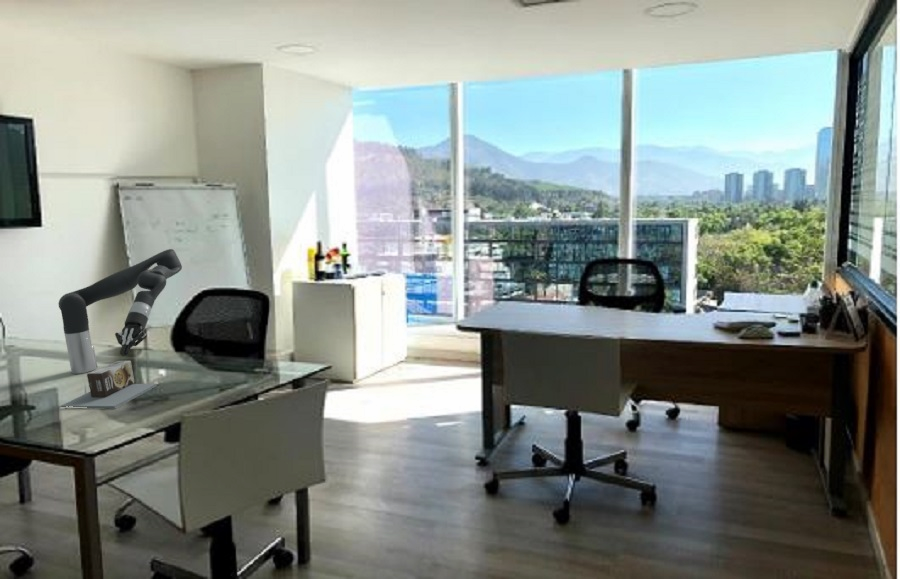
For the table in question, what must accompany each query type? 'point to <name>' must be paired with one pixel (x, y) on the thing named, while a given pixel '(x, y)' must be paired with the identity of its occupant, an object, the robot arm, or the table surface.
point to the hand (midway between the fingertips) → (123, 355)
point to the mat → (111, 397)
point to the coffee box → (110, 379)
